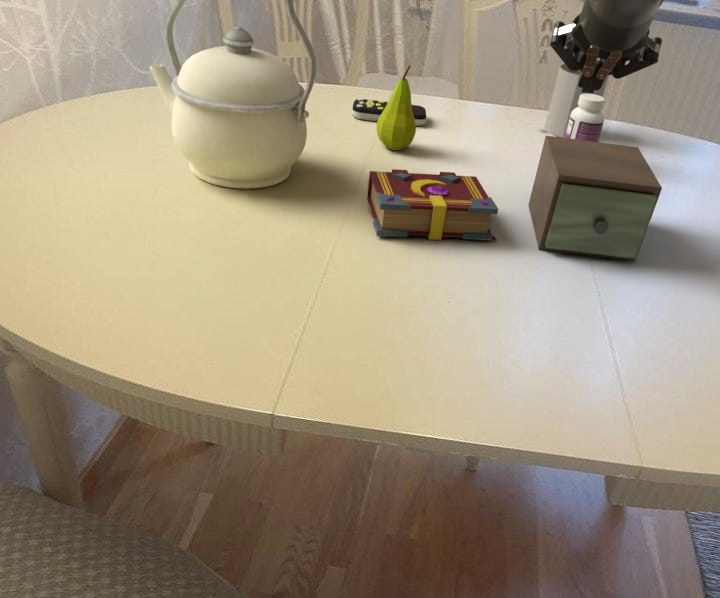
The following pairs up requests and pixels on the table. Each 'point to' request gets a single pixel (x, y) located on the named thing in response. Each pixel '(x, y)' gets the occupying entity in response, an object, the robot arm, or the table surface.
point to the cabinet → (585, 178)
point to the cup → (566, 100)
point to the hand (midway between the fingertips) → (588, 86)
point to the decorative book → (429, 205)
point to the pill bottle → (586, 118)
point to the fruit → (397, 118)
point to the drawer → (599, 220)
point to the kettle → (237, 108)
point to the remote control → (375, 108)
